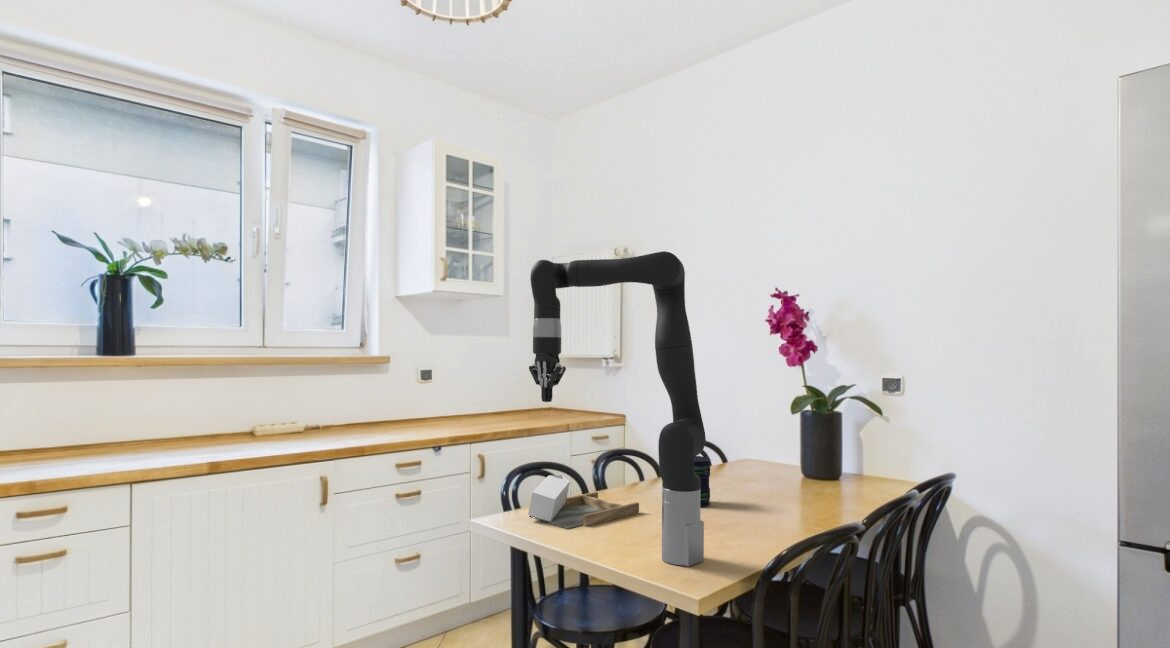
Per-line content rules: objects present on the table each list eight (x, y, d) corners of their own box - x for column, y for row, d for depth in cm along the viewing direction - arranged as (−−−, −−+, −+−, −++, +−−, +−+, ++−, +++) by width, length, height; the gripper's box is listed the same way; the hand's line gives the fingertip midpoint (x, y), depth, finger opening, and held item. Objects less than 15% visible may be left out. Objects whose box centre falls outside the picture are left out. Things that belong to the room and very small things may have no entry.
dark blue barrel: (677, 506, 201) (678, 459, 201) (681, 499, 210) (682, 455, 211) (708, 508, 198) (709, 461, 198) (711, 501, 207) (711, 456, 208)
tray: (638, 512, 192) (639, 503, 192) (569, 530, 172) (570, 519, 172) (595, 501, 206) (595, 491, 206) (527, 515, 186) (527, 505, 186)
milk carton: (550, 522, 178) (569, 498, 197) (555, 499, 177) (573, 477, 196) (527, 514, 180) (548, 491, 198) (532, 492, 179) (552, 470, 197)
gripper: (574, 335, 162) (574, 402, 161) (542, 336, 171) (541, 399, 170) (552, 335, 156) (552, 403, 156) (520, 336, 166) (520, 401, 165)
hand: (546, 401), depth 163 cm, fingers closed
